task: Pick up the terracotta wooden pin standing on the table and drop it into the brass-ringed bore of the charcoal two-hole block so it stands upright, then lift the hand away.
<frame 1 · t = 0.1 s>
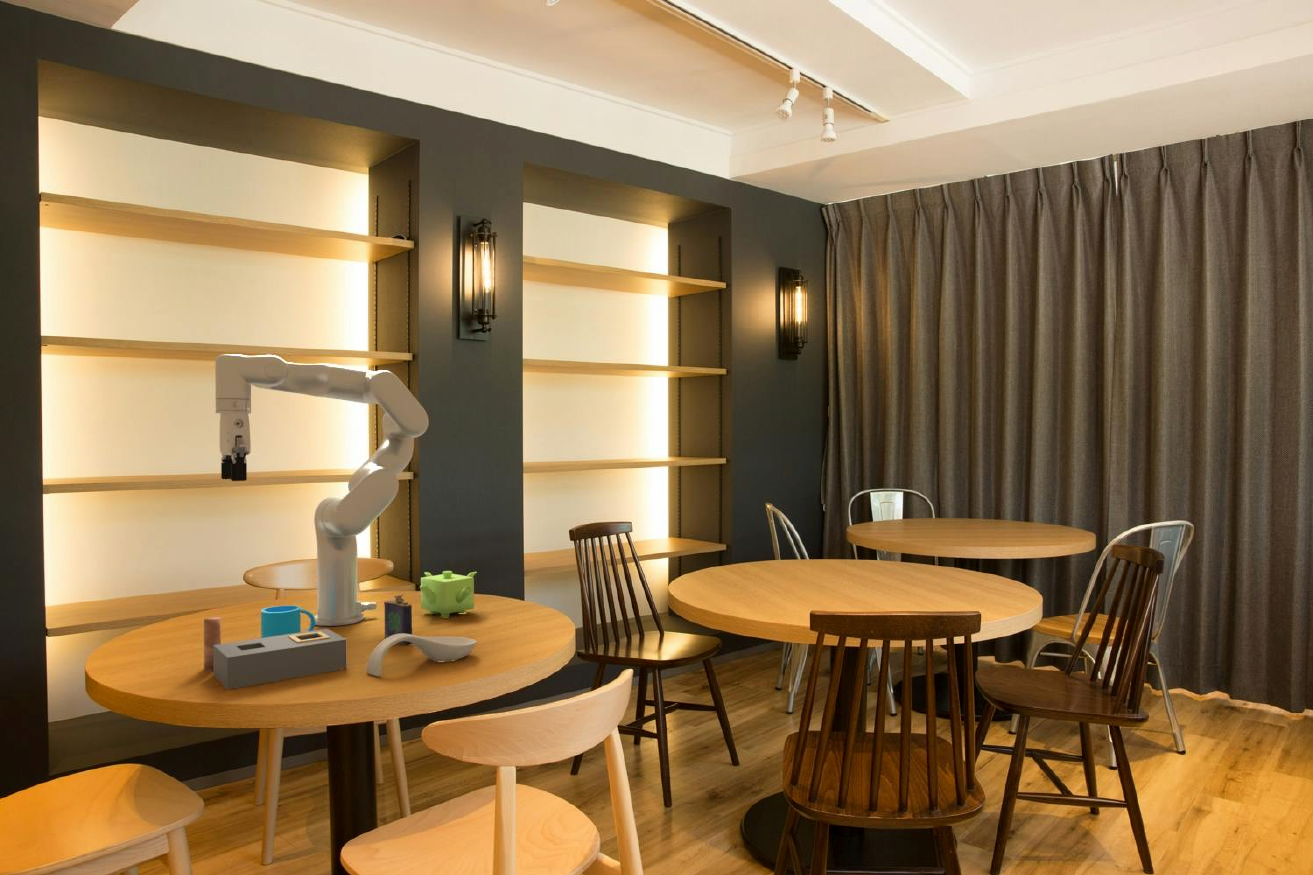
hand: (233, 479, 200), 37 cm above the table, tool pointing down, fingers open, 9 cm apart
flask: (399, 642, 195), on the table
bore block: (280, 671, 170), on the table
mug: (289, 644, 193), on the table
pin: (212, 667, 173), on the table
spoon rest: (424, 665, 176), on the table
green block with protrusions: (448, 613, 225), on the table
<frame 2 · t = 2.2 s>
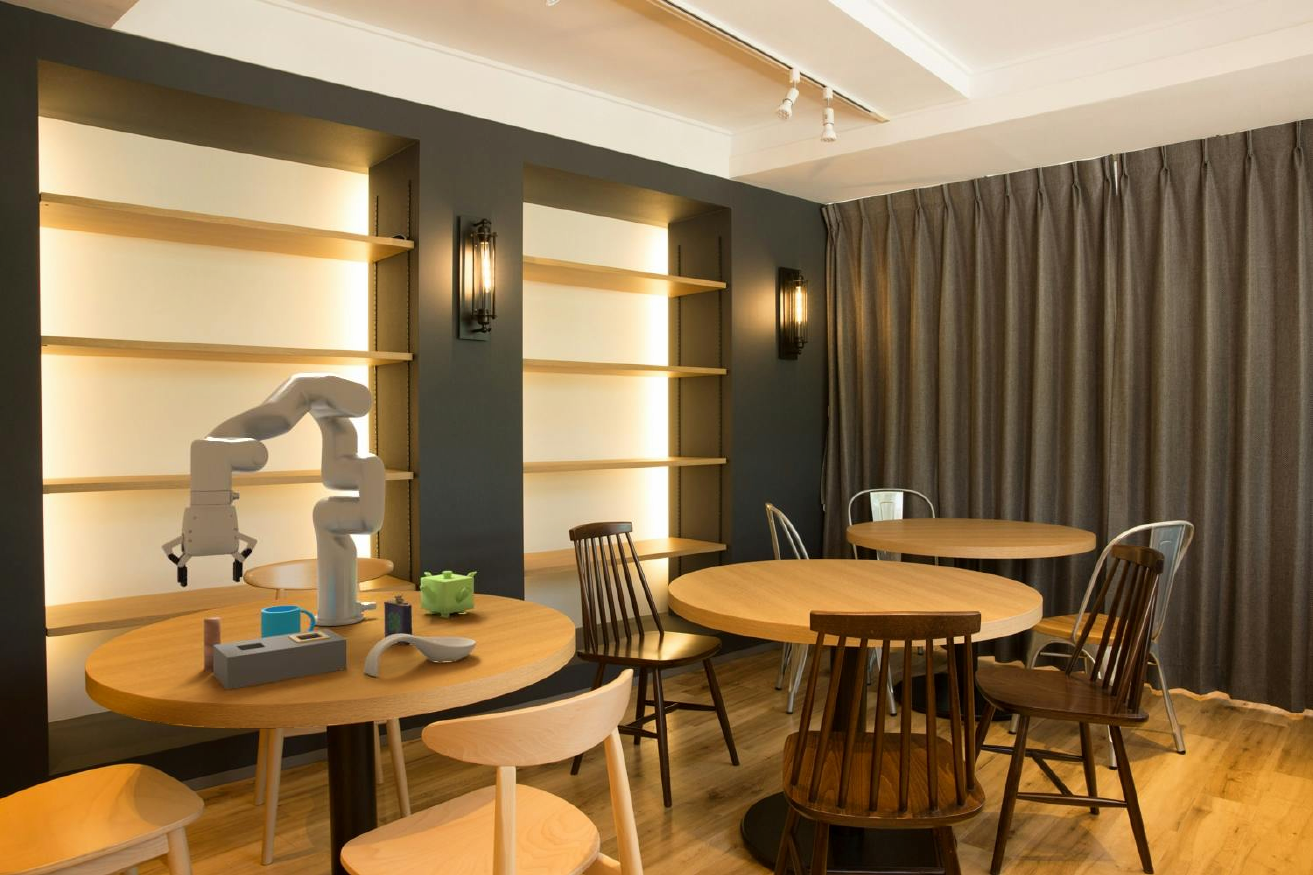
hand: (210, 583, 173), 17 cm above the table, tool pointing down, fingers open, 9 cm apart
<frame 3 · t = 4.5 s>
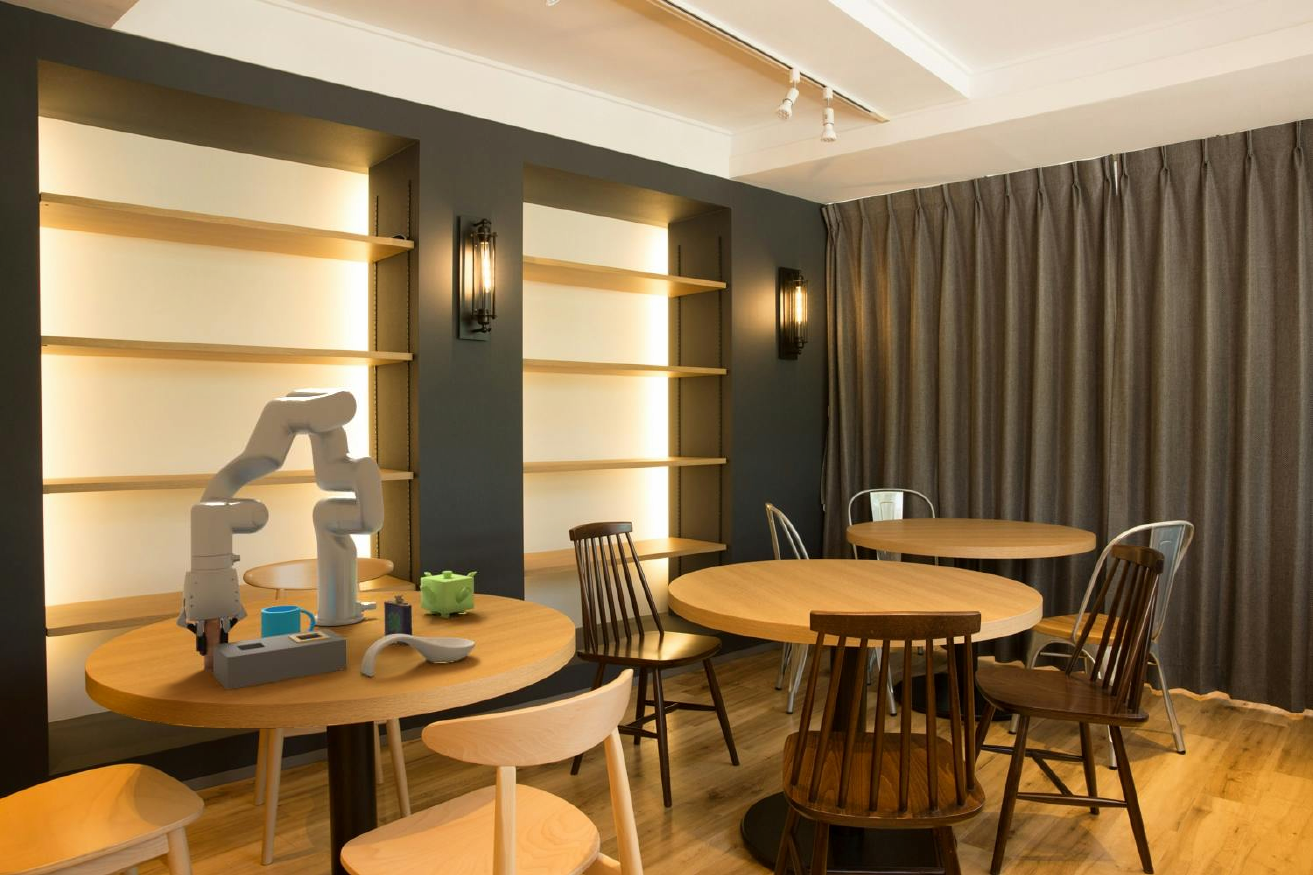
hand: (212, 652, 173), 3 cm above the table, tool pointing down, fingers closed on pin, 3 cm apart
pin: (212, 667, 173), on the table, touching gripper
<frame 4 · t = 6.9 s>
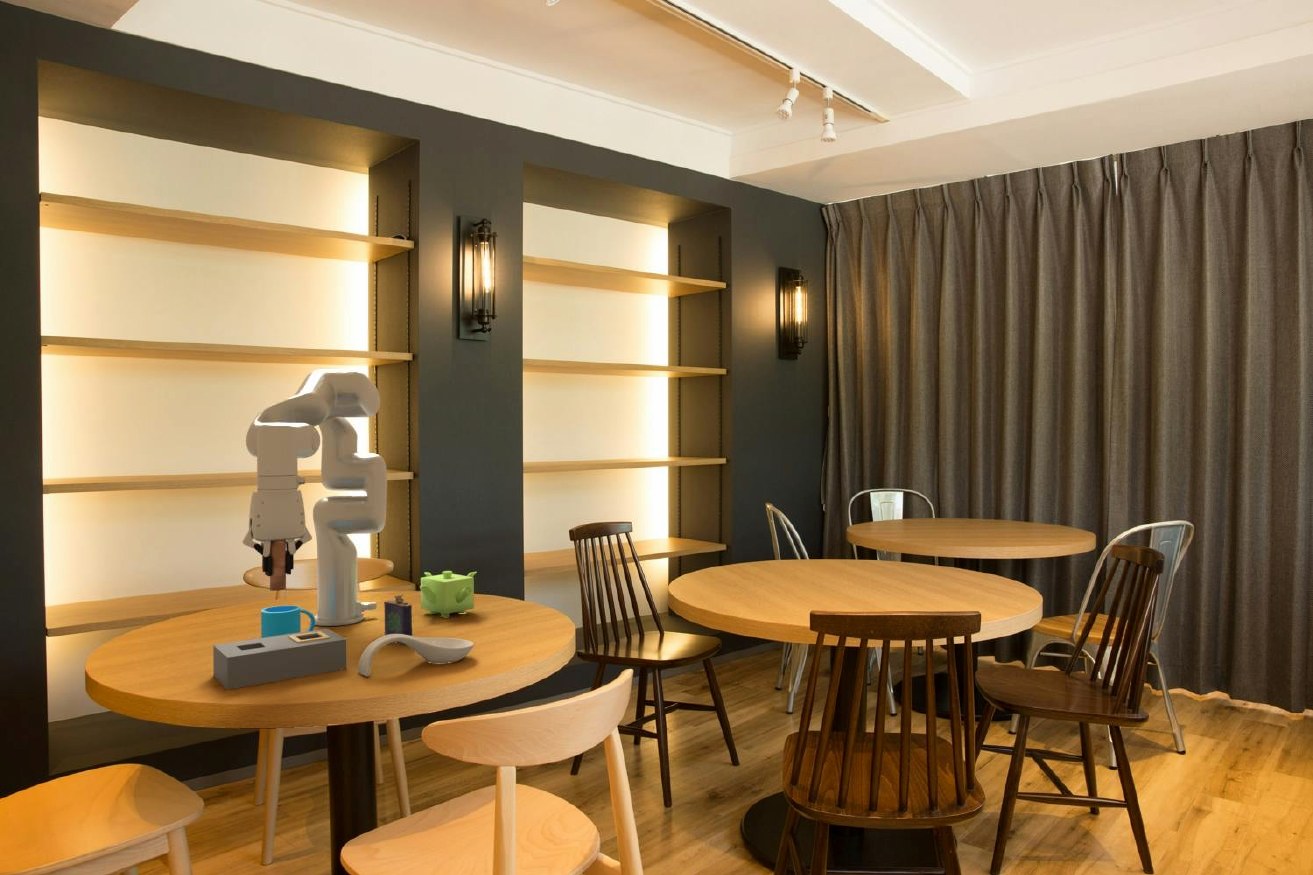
hand: (278, 573, 173), 19 cm above the table, tool pointing down, fingers closed on pin, 3 cm apart
pin: (278, 589, 173), point 16 cm above the table, touching gripper
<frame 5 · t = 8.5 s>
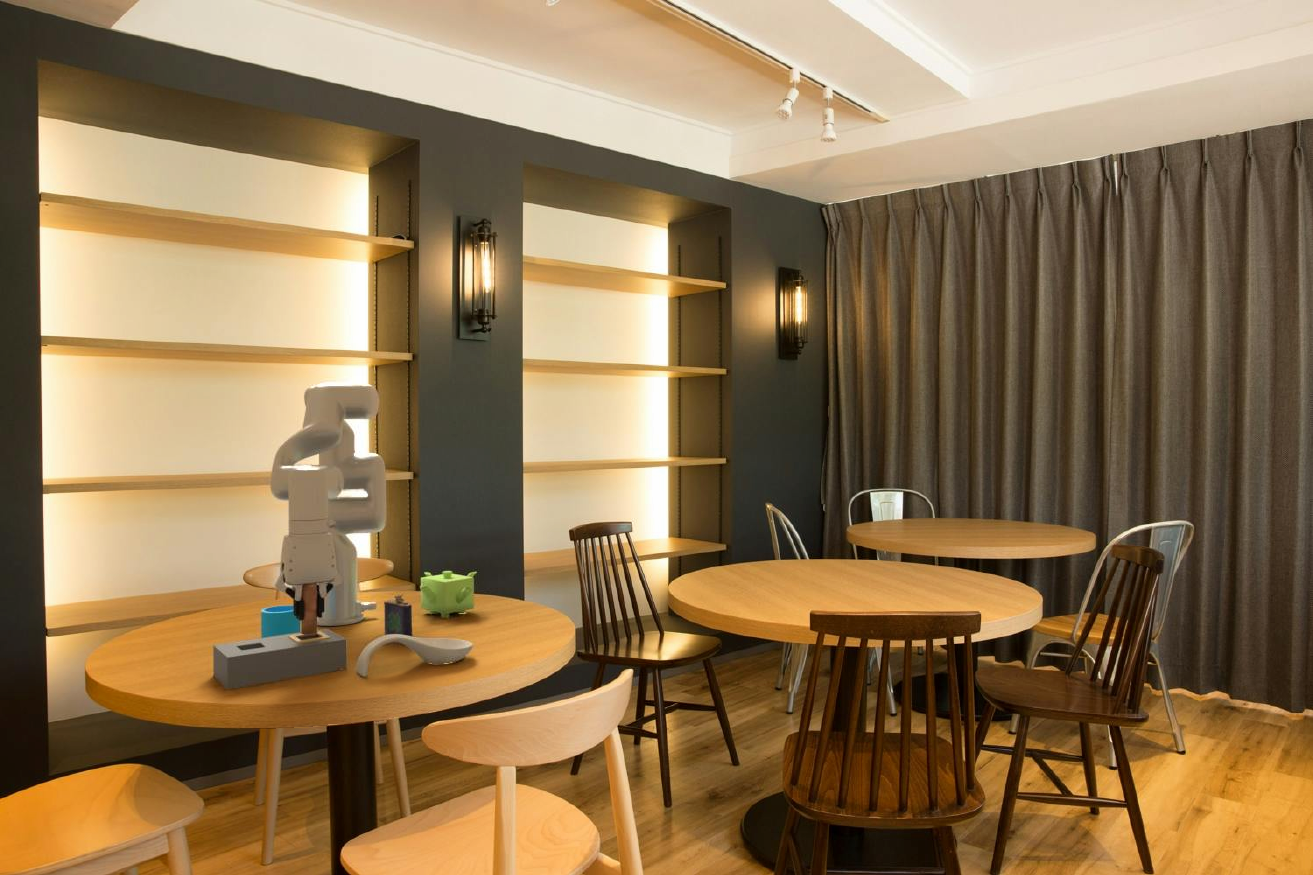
hand: (309, 617, 174), 10 cm above the table, tool pointing down, fingers closed on pin, 3 cm apart
pin: (309, 632, 174), point 7 cm above the table, touching gripper
when the fingers open (7 cm above the table, at t = 9.5 s): pin drops 2 cm, resting on bore block.
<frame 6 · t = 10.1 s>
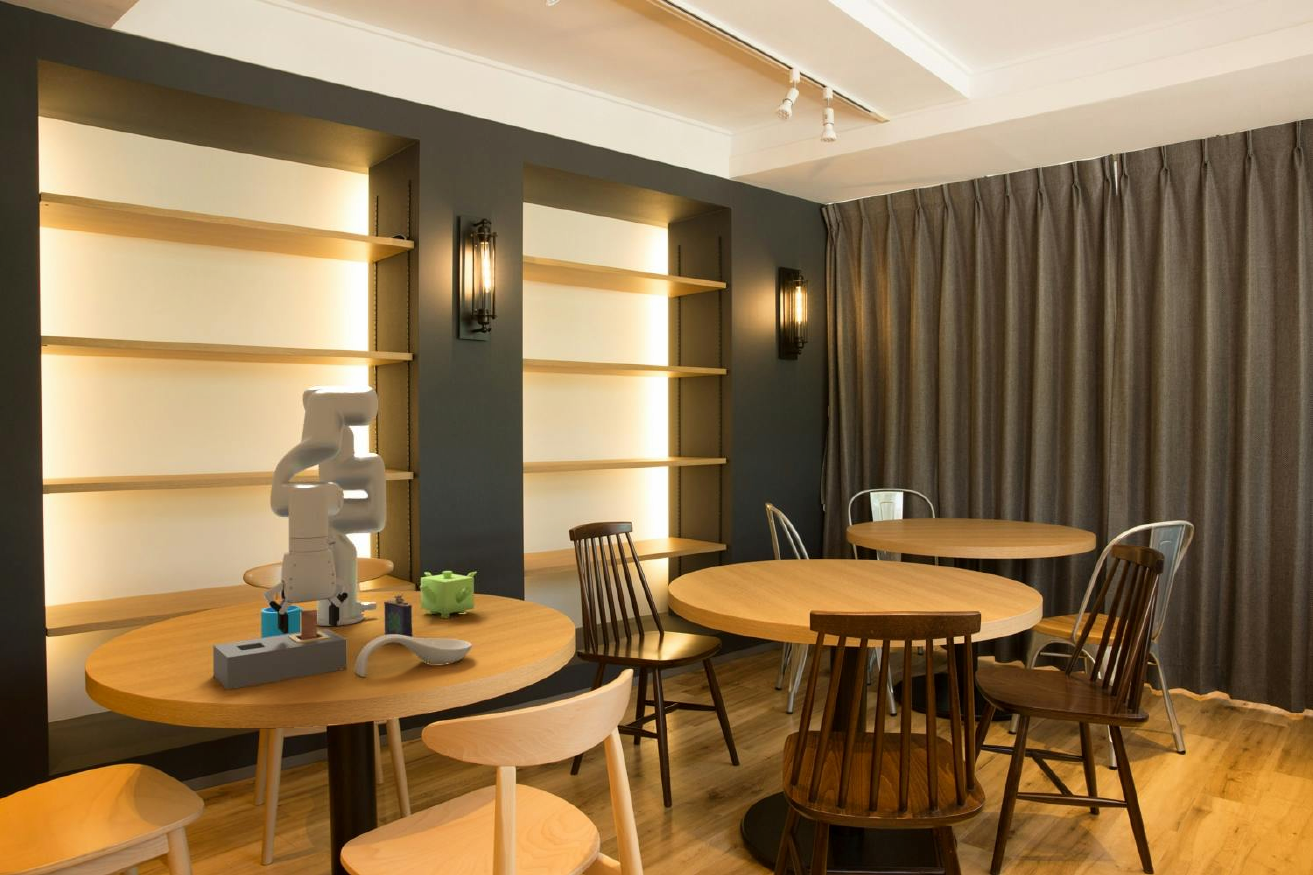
hand: (309, 629, 174), 8 cm above the table, tool pointing down, fingers open, 9 cm apart
pin: (309, 659, 174), point 1 cm above the table, touching bore block
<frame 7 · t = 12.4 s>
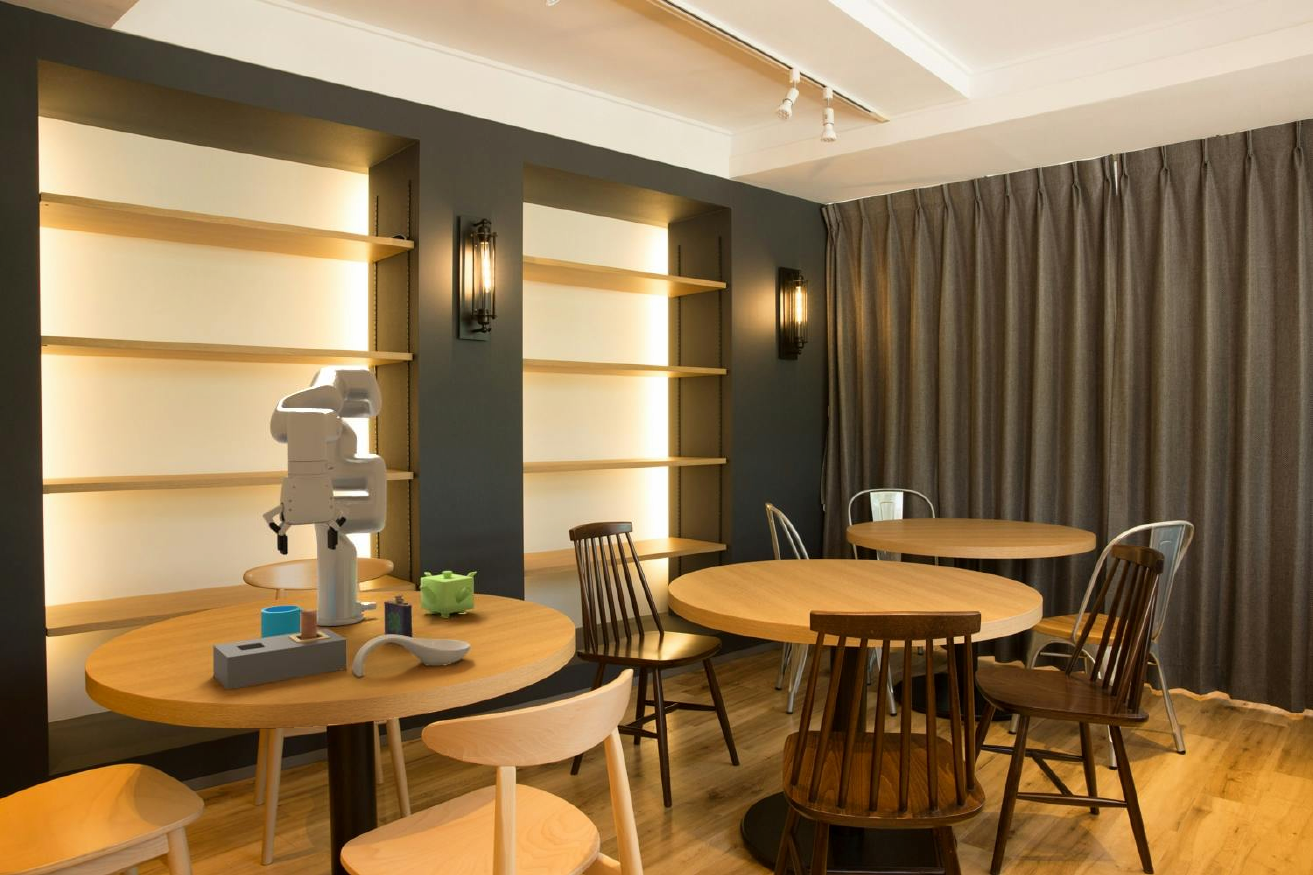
hand: (308, 551, 177), 23 cm above the table, tool pointing down, fingers open, 9 cm apart
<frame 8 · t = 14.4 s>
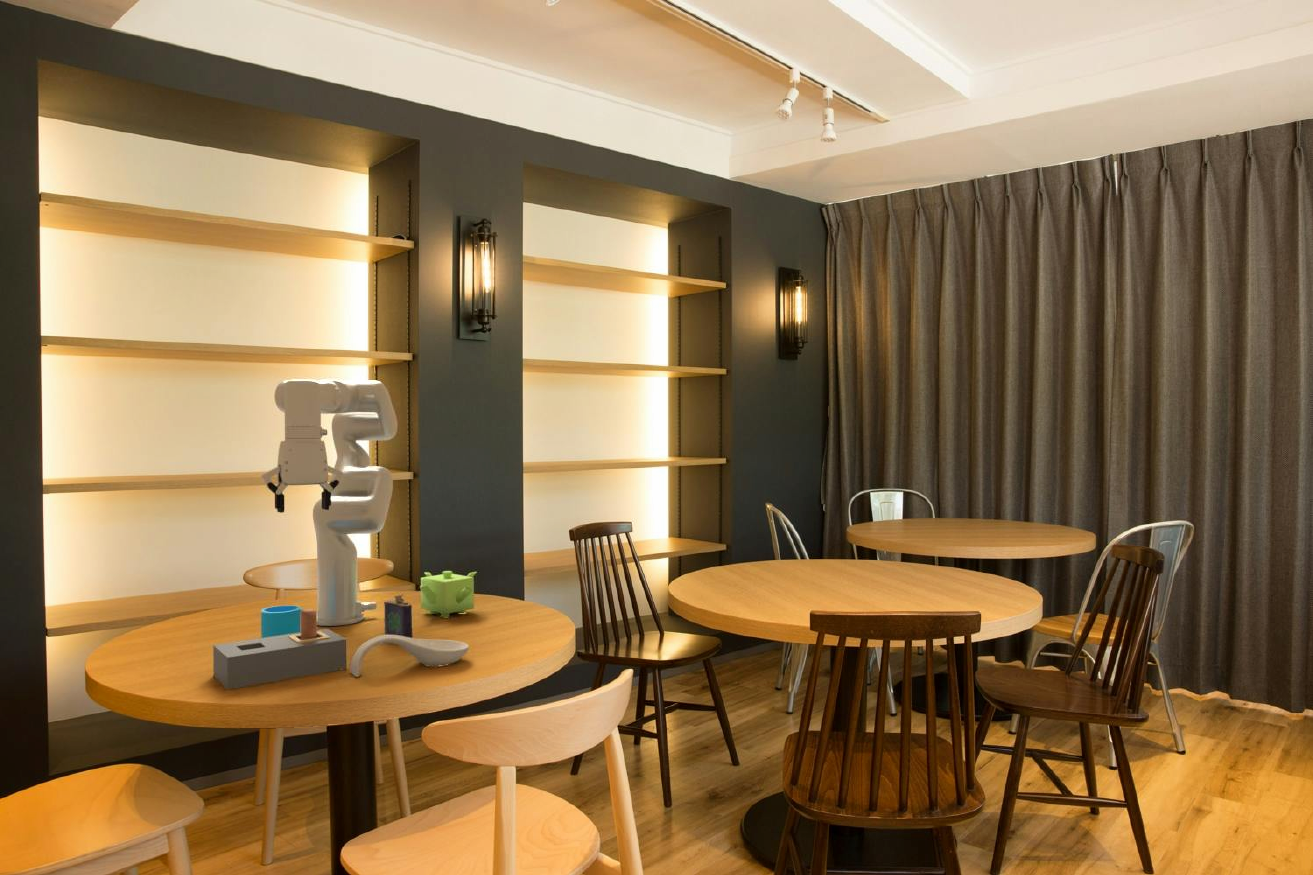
hand: (303, 510, 191), 30 cm above the table, tool pointing down, fingers open, 9 cm apart
at the end: pin 0.0 cm from the target spot on the bore block, point 1.5 cm above the bore block's base; pin tilted 1°; the gripper is holding nothing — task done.
